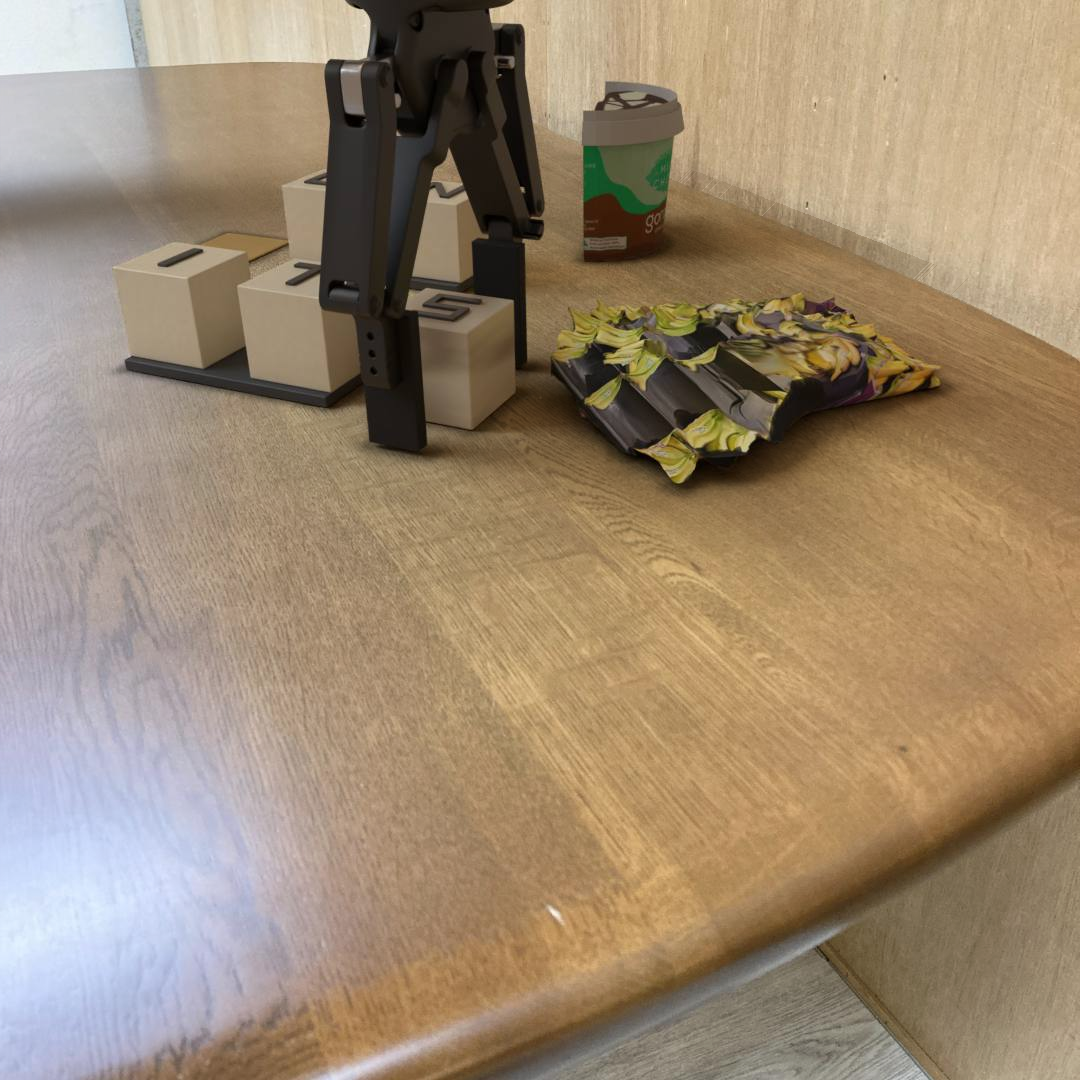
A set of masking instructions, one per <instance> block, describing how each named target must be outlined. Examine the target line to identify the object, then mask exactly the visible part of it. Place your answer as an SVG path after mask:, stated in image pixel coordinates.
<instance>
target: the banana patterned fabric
mask: <svg viewBox="0 0 1080 1080" xmlns="http://www.w3.org/2000/svg"><path fill="white" fill-rule="evenodd" d="M595 299H596V302H597V304H598V306H597V308H595V309H591V310H590V315H589V314H587V313H584V312H581V311H580V312H579V311H576V310H574V309H572V308H571V306H567V311H568V312H569V314H570V317H571V319H572V325H573V329H572V331H571V330H568V329H561V330H559V332H558V336H557V338H556V339H555V342H556V347H557V350H554V351H553V352H552V353H551V355H550V372H549V374H550V377H552V376H553V377H554V378H555V379H556V380H558V381H559V382H560V383H562V384H563V386H564V387H565V389H566V390H567V391H568V392H569V394H570V396H571V397H572V398H573V399H574V400H575V401H576V404H577V408H578V411H579V415H580V417H581V418H584V419H586V420H587V421H590V422H591V423H592V424H593V425H594V426H595V427H597V429H599V431H600V432H601V433H602V434H603V435H604V437H605V438H606V439H607V440H608V441H609V442H610V443H611V444H612V445H613V446H614V447H615V448H616V449H617V450H619V451H620V452H622V453H623V454H626V455H633V456H634V457H637V456H638V455H640V454H643V455H646V456H647V457H649V458H652V459H653V460H656V461H657V462H658V464H659V465H660V466H661V468H662V469H663V470H664V472H665V473H666V474H667V476H668V477H669V478H670V480H671V481H672V482H673V483H675V484H682V483H684V482H685V481H687V480H688V479H689V478H690V477H691V476H692V474H693V472H694V470H695V468H696V465H697V463H698V462H702V461H705V462H708V463H709V464H711V465H713V466H715V467H717V468H719V469H726V470H728V469H730V468H731V467H732V466H734V464H735V463H736V462H737V460H738V457H744V456H747V455H749V453H750V452H751V451H753V450H754V449H755V448H756V447H757V446H758V445H760V444H762V443H765V442H768V443H774V444H778V443H780V442H783V440H784V437H785V434H786V433H787V431H788V430H789V429H790V427H791V426H792V425H793V424H795V423H796V422H798V420H799V419H801V418H802V417H803V416H805V415H806V414H808V413H813V412H819V411H822V410H827V409H833V408H838V407H843V406H848V405H853V404H857V403H858V404H859V403H862V402H867V401H868V402H869V401H872V400H877V399H883V398H888V397H895V396H900V395H902V394H906V393H910V392H913V391H917V390H923V389H924V390H925V389H932V388H935V387H939V386H940V385H941V381H940V379H939V378H938V377H936V375H935V371H937V370H939V369H941V366H940V365H936V364H930V363H926V362H924V361H922V360H920V359H918V358H915V357H914V356H912V355H910V354H908V353H907V352H906V351H905V350H904V349H902V348H900V347H899V346H898V345H896V344H895V343H894V339H893V338H890V337H887V336H884V335H882V334H880V333H878V332H876V324H875V323H868V324H866V323H862V322H859V321H857V320H856V317H855V313H854V312H853V311H851V310H847V309H844V308H842V307H841V306H838V305H837V304H836V297H835V296H831V297H830V298H827V299H825V300H823V301H820V302H814V301H811V300H807V298H806V297H805V296H804V294H803V293H802V292H798V293H796V294H793V295H789V296H785V297H779V298H778V297H777V298H765V299H762V300H759V301H756V302H750V301H747V300H743V299H742V298H732V299H729V300H726V301H724V302H721V301H714V302H712V303H710V304H696V303H689V302H688V300H685V301H684V302H683V303H680V302H679V303H678V302H671V301H667V302H665V303H663V304H660V305H648V306H647V305H642V306H640V307H633V306H631V305H629V306H625V305H623V304H620V305H619V307H618V309H616V308H615V307H613V306H611V305H609V306H608V308H607V307H606V306H605V304H604V303H603V302H602V301H601V300H600V299H599V298H598V297H595Z"/></svg>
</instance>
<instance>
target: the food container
mask: <svg viewBox="0 0 1080 1080" xmlns="http://www.w3.org/2000/svg"><path fill="white" fill-rule="evenodd" d="M604 82H605V83H604V98H603V100H601V101H598V102H597V103H596V104H595V107H594V110H585V109H584V110H582V125H581V126H582V127H581V146H582V171H583V172H582V194H583V195H582V202H583V203H582V210H583V211H582V212H583V213H582V214H583V216H582V217H583V219H582V220H583V221H582V222H583V223H582V224H583V225H582V226H583V227H582V231H583V235H582V237H583V243H582V244H583V245H582V246H583V248H582V249H583V254H582V255H583V262H610V261H624V260H628V259H634V258H639V257H643V256H646V255H649V254H652V253H654V252H655V251H657V250H658V249H660V248H661V246H662V243H663V235H664V227H665V218H666V209H667V199H668V192H669V182H670V176H671V168H672V167H671V166H672V158H673V150H674V140H675V136H678V135H679V134H681V133H683V131H684V130H685V121H684V115H683V108H682V107H683V106H682V104H681V102H679V99H678V93H677V92H676V91H674V90H672V89H671V88H668V87H663V86H659V85H654V84H650V83H642V82H634V81H633V82H632V81H631V82H630V81H615V80H612V81H611V80H605V81H604Z"/></svg>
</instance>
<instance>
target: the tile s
mask: <svg viewBox="0 0 1080 1080" xmlns="http://www.w3.org/2000/svg"><path fill="white" fill-rule="evenodd" d="M405 310H412V311H418V318H419V332H420V346H421V361H422V375H423V389H424V403H425V417H426V423H433V424H436V425H437V424H438V425H442V426H447V427H453V428H458V429H464V430H469V431H473V430H474V429H476V428H477V427H478V426H479V425H480V424H481V423H483V421H484V420H486V419H487V418H489V416H491V414H493V413H494V412H495V411H496V410H498V409H499V408H500V407H501V406H502V405H503V404H504V403H505V402H507V401H508V400H509V399H510V398H511V397H512V396H514V394H516V391H517V390H516V386H517V385H516V366H515V338H514V301H513V300H508V299H501V298H494V297H487V296H480V295H474V293H473V294H472V293H465V292H461V293H459V292H452V291H445V290H438V289H431V288H425V289H424V290H421V291H420V290H419V292H417V293H415V294H413V296H411V297H408V299H407V304H406V309H405Z"/></svg>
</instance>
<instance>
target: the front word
mask: <svg viewBox="0 0 1080 1080" xmlns="http://www.w3.org/2000/svg"><path fill="white" fill-rule="evenodd" d="M249 262H250V261H248V254H247V252H244V251H237V250H230V249H223V248H215V247H208V246H201V245H200V244H193V243H185V242H179V241H178V242H177V241H173V242H171V243H168V244H166V245H163V246H161V247H159V248H156V249H154V250H150V251H148V252H146V253H143V254H141V255H139V256H135V257H133V258H132V259H129V260H126V261H124V262H122V263H121V262H120V263H118V264H116V265H114V266H113V267H112V273H113V275H114V276H113V277H114V282H115V287H116V291H117V297H118V301H119V306H120V311H121V317H122V321H123V327H124V330H125V335H126V340H127V346H128V350H129V354H130V356H129V357H127V358H125V359H124V366H125V370H127V371H132V372H138V373H142V374H148V375H154V376H159V377H164V378H168V379H174V380H180V381H184V382H190V383H194V384H195V383H196V384H201V385H206V386H211V387H216V388H223V389H228V390H232V391H237V392H242V393H249V394H254V395H259V396H265V397H268V398H275V399H279V400H285V401H289V402H296V403H300V404H307V405H312V406H317V407H320V408H328V407H330V406H331V405H333V404H335V403H336V402H338V401H339V400H340V399H341V398H343V397H345V396H346V395H348V394H349V393H351V392H352V391H354V390H355V389H356V388H358V387H359V386H361V385H362V384H364V383H363V380H362V378H361V372H360V362H359V356H360V355H359V352H358V342H357V332H356V324H355V320H354V318H353V316H352V315H350V314H343V313H336V312H330V311H325V310H323V309H322V308H321V307H320V304H319V283H320V268H321V262H317V261H310V260H303V259H296V258H294V259H292V260H291V259H290V260H288V261H286V262H283V263H282V264H279V265H278V266H275V267H274V268H271V269H268V270H267V271H265V272H262V273H260V274H259V275H257V276H254V277H253V278H252V275H251V269H250V263H249ZM345 284H346V281H345Z"/></svg>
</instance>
